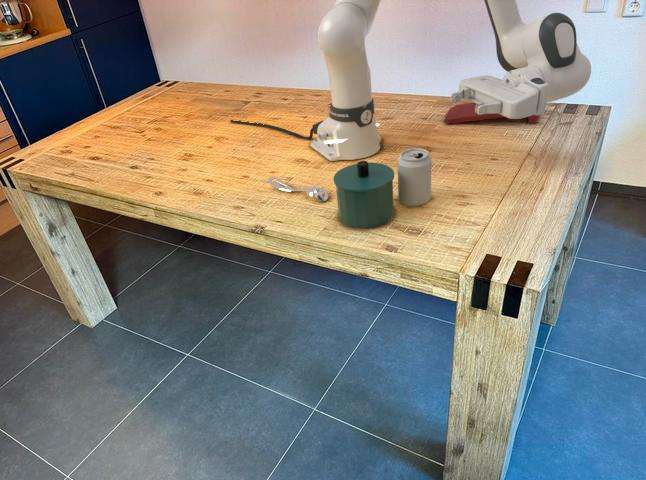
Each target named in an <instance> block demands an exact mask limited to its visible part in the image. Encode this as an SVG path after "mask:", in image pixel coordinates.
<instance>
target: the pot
mask: <svg viewBox="0 0 646 480" xmlns="http://www.w3.org/2000/svg"><path fill="white" fill-rule="evenodd" d="M393 180H394V179H393ZM393 180H392V181H391V182H390V183H389V184H388V185H386V186H384V187H382V188H379V189H376V190H372V191H366V192H351V191H346V190H343V189H340V188H338V187H337V186H336V185H335V191H336V201H337V209H338V210H337V211H338V217H339V220H340V222H341V223H342V224H344V225H345V226H347V227H349V228H350V227H351V228H354V229H372V228H376V227H380V226H382V225H385V224H386V223H387V222H389V221H390V220H391V219H392V217H393V216H394V209H395V208H394V182H393Z"/></svg>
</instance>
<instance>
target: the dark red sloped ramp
mask: <svg viewBox="0 0 646 480" xmlns="http://www.w3.org/2000/svg"><path fill="white" fill-rule="evenodd" d="M476 105H478V104H476V103H474V102H468V103H467V102H466V103H462V104H456V105H453V106H452V107H450V108H449V110H448V111H447V113H446V114H445V116H444V119H445V120H444V122H445V123H447V124H448V125H450V124H458V123H466V122H473V121H474V122H475V121H481V120H482V121H483V120H488V119H489V120H490V119H498V118H504V117H505V116H503V115H501V114H498V113H496V114H492V113H485V114H481V115H479V114H477V113H475V106H476ZM538 117H539V115H532V116H528V117H527V119H528V124H535V123H537V122H538ZM505 118H506V117H505Z"/></svg>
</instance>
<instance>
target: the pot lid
mask: <svg viewBox="0 0 646 480" xmlns="http://www.w3.org/2000/svg"><path fill="white" fill-rule="evenodd" d="M394 179H395V171H394V169H393V168H392V167H391V166H389V165H387V164H384V163H379V162H370V161H369V162H368V161H367V160H360V161H358V162H357V163H353V164H350V165H347V166H344V167H343V168H341V169H339V170H338V171H336V173H335V174H334V175H333V183H334V185H335V187H336V186H337V187H338V188H340V189H343V190H346V191H351V192H366V191H372V190H376V189H379V188H382V187H384V186H386V185H388V184H389V183H390V182H391V181H392V180H394Z"/></svg>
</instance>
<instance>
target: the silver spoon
mask: <svg viewBox="0 0 646 480" xmlns="http://www.w3.org/2000/svg"><path fill="white" fill-rule="evenodd" d="M273 181H275V182H273ZM267 184H268V185H270V186H271V187H274V188H275V189H277V190H280V191H284V192H300V191H301V192H302V191H303V192H305V193H306V194H307V195H308V196H310V197H311V198H314V199H316V200H317V201H320V202H325V201H327V200H328V198H329V193H328V191H327V189H326V188H325V187H323V186H320V185H313V186H309V187H304V188H294V187H291V186H289V185H288V184H286V183H285V182H284V181H283V180H281V179H280V178H278V177H275V176H270V177H268V178H267Z"/></svg>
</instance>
